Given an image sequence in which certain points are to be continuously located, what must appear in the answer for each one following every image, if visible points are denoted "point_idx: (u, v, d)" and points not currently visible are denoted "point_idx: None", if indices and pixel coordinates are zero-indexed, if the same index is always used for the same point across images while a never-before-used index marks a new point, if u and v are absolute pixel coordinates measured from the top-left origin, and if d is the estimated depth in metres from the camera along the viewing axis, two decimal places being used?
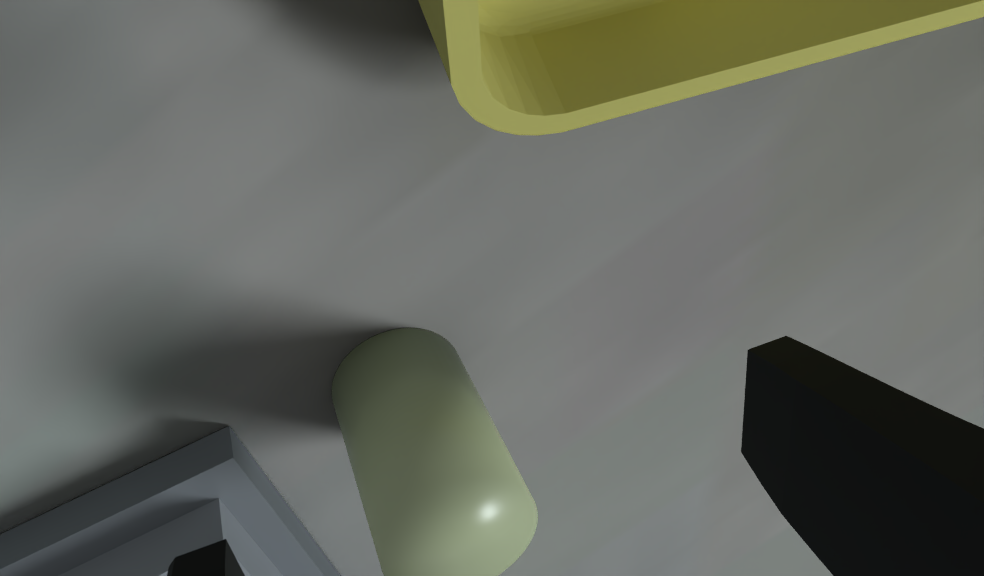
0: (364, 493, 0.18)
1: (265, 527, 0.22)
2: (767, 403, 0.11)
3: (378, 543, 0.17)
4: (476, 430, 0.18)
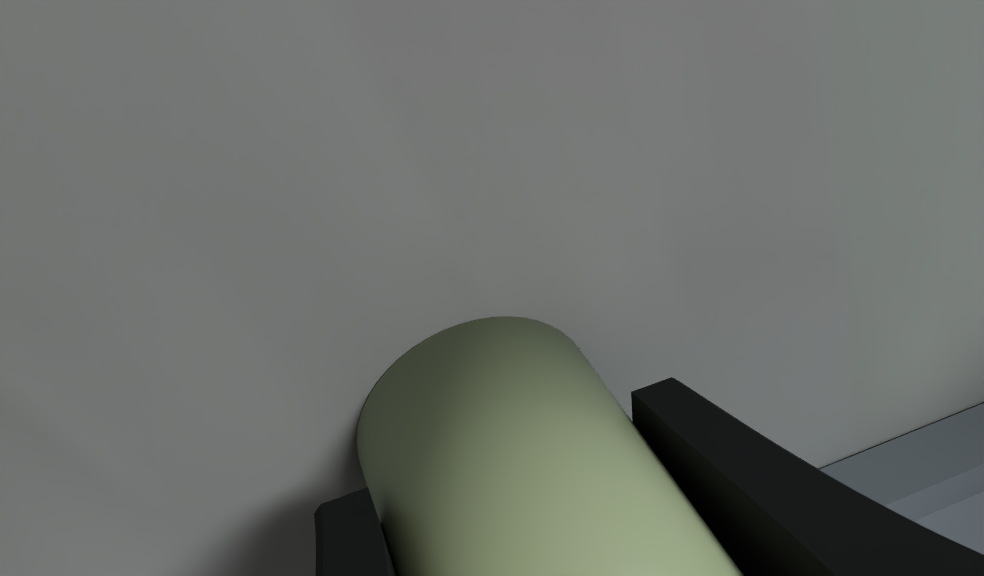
0: None
1: None
2: (651, 447, 0.11)
3: None
4: None
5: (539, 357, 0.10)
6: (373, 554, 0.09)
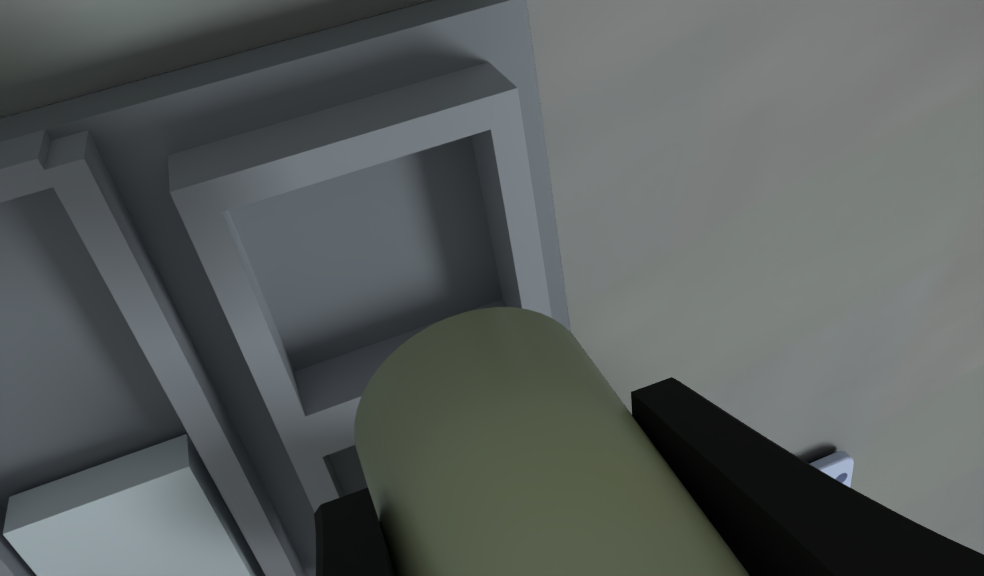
0: None
1: None
2: None
3: None
4: None
5: (543, 347, 0.10)
6: (373, 554, 0.09)
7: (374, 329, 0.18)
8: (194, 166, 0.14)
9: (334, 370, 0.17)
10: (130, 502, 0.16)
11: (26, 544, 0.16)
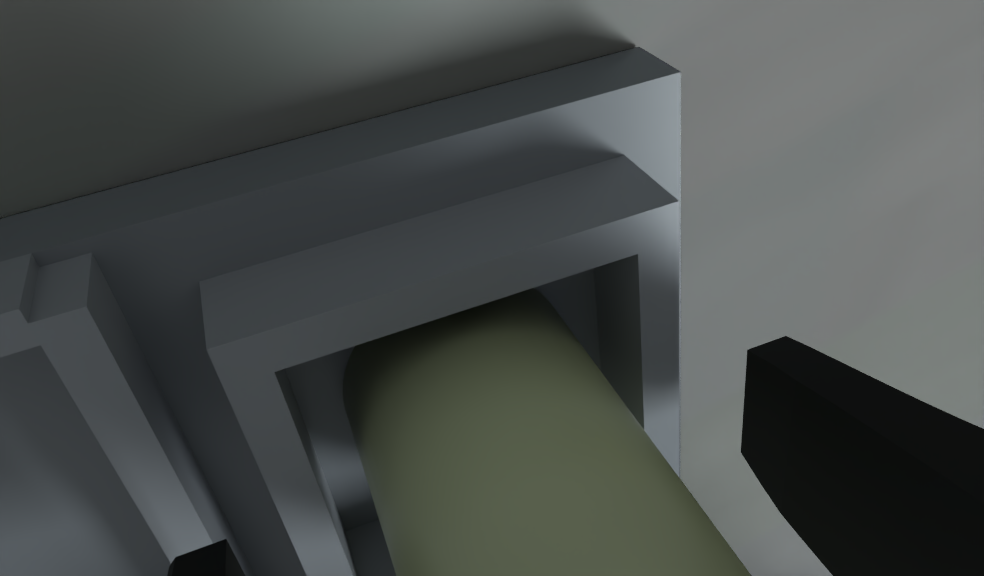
0: None
1: None
2: (767, 403, 0.11)
3: None
4: (451, 543, 0.09)
5: (519, 309, 0.11)
6: None
7: None
8: (238, 303, 0.10)
9: None
10: None
11: None
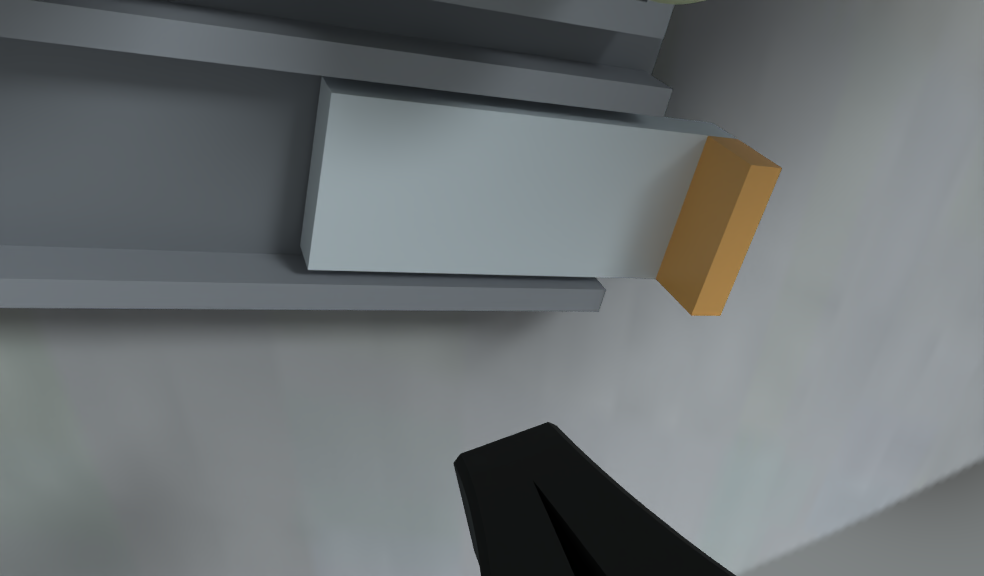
0: None
1: None
2: None
3: None
4: None
5: None
6: (527, 496, 0.09)
7: None
8: None
9: None
10: (342, 163, 0.15)
11: (332, 260, 0.16)
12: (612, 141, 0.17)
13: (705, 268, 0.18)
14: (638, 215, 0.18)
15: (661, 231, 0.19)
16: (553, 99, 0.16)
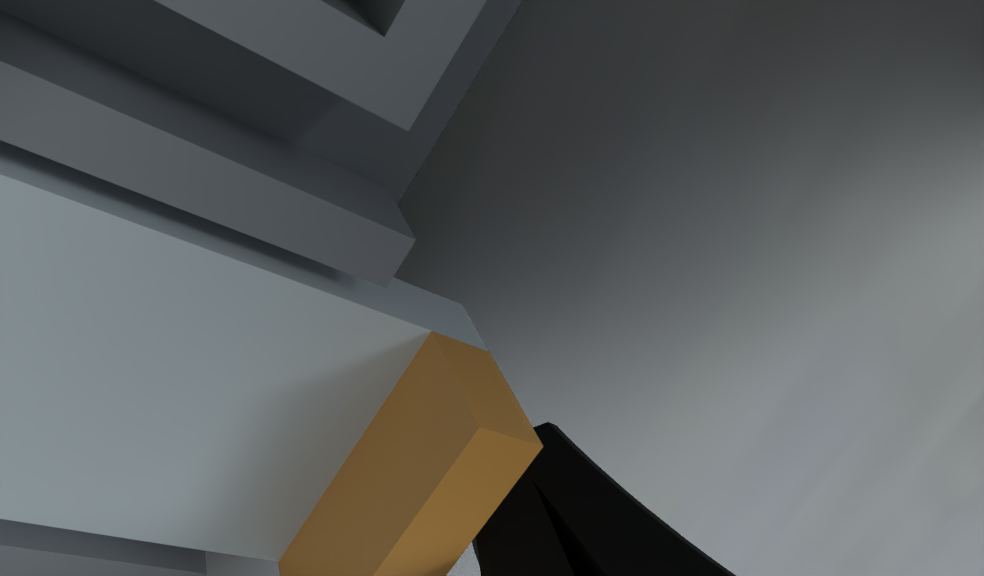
0: None
1: None
2: None
3: None
4: None
5: None
6: (527, 495, 0.09)
7: None
8: None
9: None
10: None
11: None
12: (214, 286, 0.08)
13: None
14: (255, 444, 0.09)
15: (303, 482, 0.09)
16: (128, 178, 0.07)
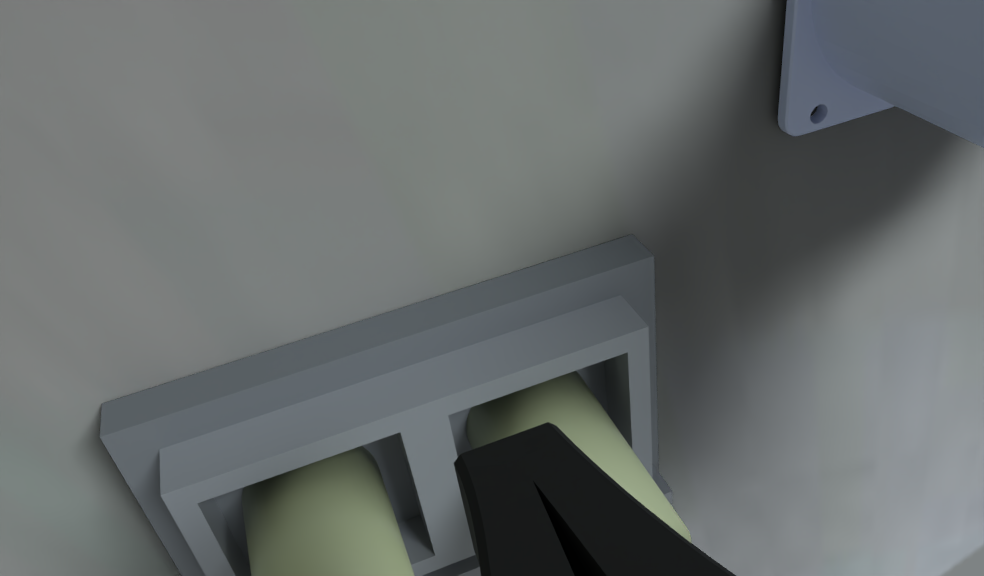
0: None
1: (224, 412, 0.19)
2: None
3: None
4: None
5: (246, 517, 0.20)
6: (527, 495, 0.09)
7: (395, 475, 0.22)
8: None
9: (419, 508, 0.23)
10: None
11: None
12: None
13: None
14: None
15: None
16: None
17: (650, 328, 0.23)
